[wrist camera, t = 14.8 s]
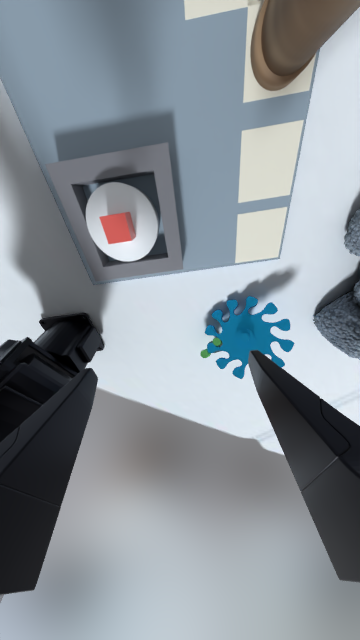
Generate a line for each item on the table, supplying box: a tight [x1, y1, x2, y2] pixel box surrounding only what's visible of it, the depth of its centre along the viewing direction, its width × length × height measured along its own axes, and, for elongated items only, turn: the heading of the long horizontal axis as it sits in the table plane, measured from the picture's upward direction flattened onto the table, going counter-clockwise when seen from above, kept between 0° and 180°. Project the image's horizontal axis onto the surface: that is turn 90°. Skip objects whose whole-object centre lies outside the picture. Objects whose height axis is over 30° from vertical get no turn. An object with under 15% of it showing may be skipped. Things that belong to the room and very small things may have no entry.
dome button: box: [86, 182, 159, 261], centre depth 14 cm, size 6×6×4 cm
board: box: [0, 0, 320, 285], centre depth 12 cm, size 21×24×3 cm
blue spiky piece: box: [201, 296, 294, 379], centre depth 23 cm, size 11×6×10 cm
